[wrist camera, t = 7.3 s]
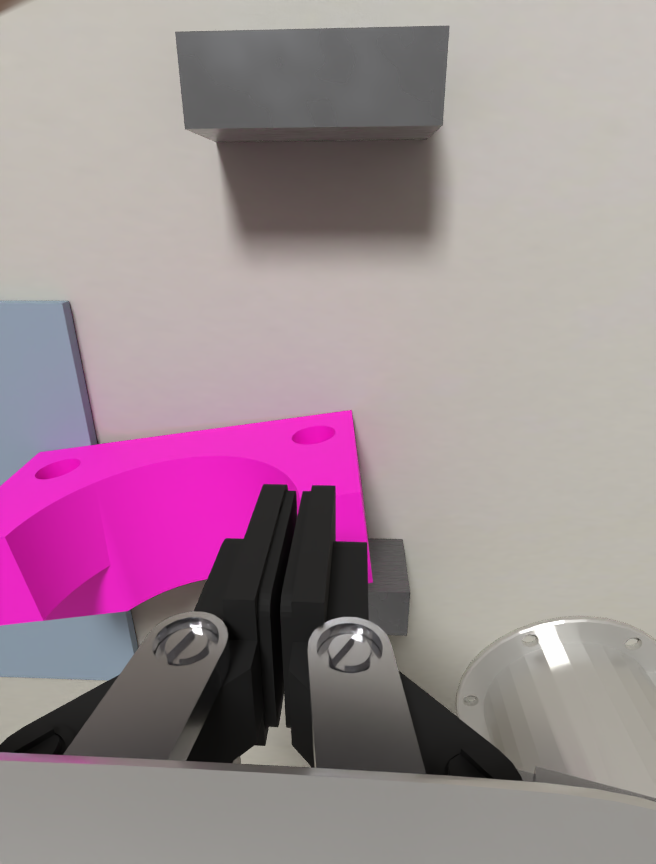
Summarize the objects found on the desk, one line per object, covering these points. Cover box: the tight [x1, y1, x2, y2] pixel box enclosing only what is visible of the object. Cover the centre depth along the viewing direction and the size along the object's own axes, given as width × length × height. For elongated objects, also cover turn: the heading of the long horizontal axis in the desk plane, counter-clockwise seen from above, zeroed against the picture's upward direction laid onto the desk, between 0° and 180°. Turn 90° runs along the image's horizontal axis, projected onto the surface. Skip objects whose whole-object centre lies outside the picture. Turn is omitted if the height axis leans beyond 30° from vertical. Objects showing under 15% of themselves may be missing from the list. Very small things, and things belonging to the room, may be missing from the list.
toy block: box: [0, 410, 373, 626], centre depth 23 cm, size 15×6×8 cm, turn 98°
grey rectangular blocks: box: [175, 26, 449, 636], centre depth 23 cm, size 8×28×4 cm, turn 0°
